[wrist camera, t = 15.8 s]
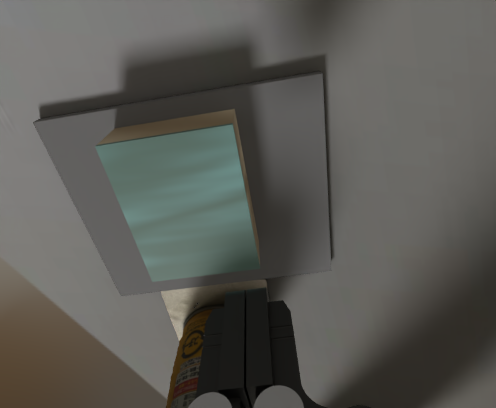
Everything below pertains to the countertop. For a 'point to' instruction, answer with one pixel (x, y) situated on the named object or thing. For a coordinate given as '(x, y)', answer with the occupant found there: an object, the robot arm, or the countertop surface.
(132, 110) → the mat
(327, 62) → the countertop surface
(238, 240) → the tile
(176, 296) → the condiment
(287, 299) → the countertop surface
